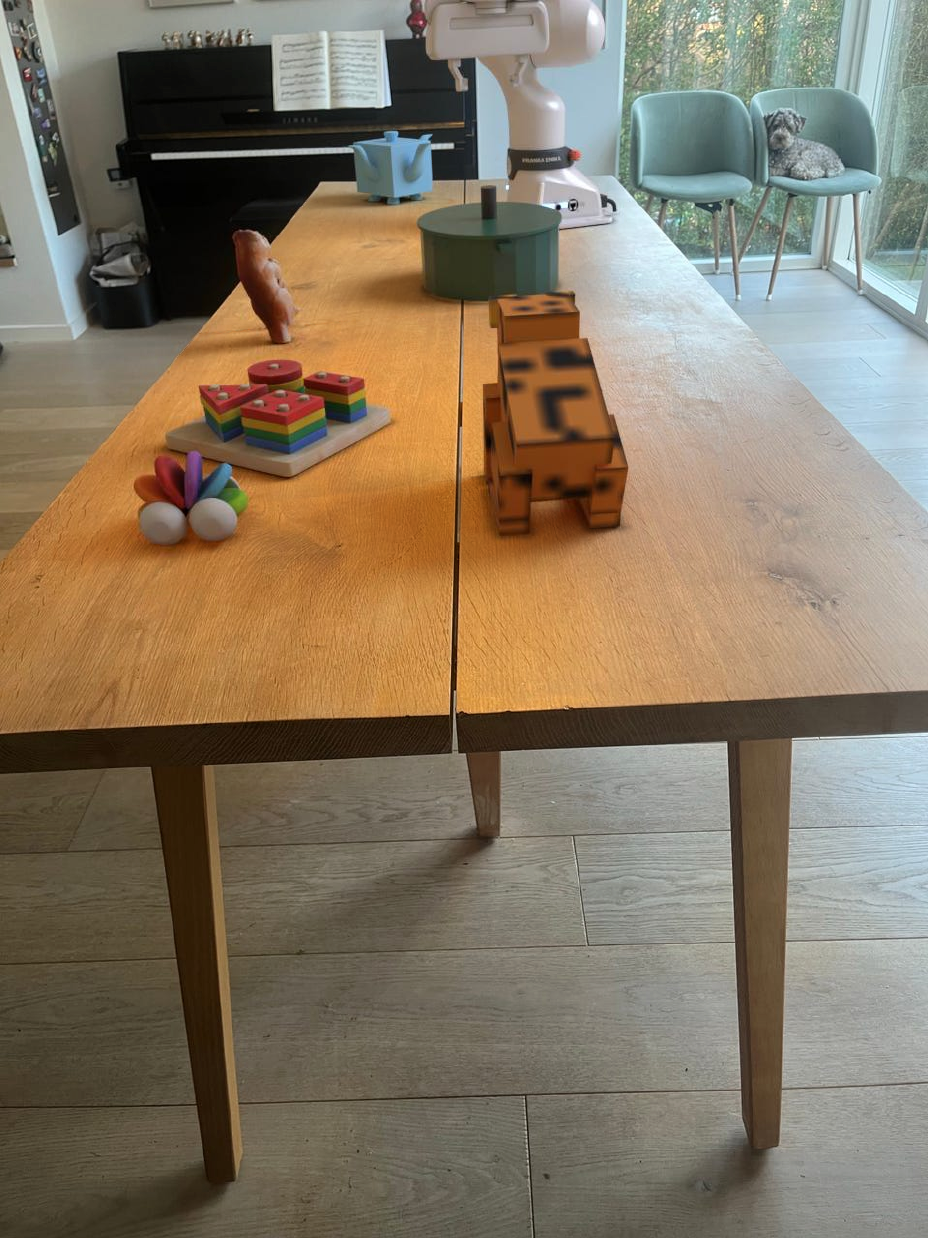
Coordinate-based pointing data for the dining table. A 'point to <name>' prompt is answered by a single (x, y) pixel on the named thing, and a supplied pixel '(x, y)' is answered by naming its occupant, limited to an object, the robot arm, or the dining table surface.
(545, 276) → the tin
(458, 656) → the dining table surface
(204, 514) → the rainbow fan rolling toy
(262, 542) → the dining table surface
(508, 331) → the toy animal
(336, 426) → the shape sorter
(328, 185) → the dining table surface
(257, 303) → the figurine
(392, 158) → the teakettle
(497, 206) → the tin lid
